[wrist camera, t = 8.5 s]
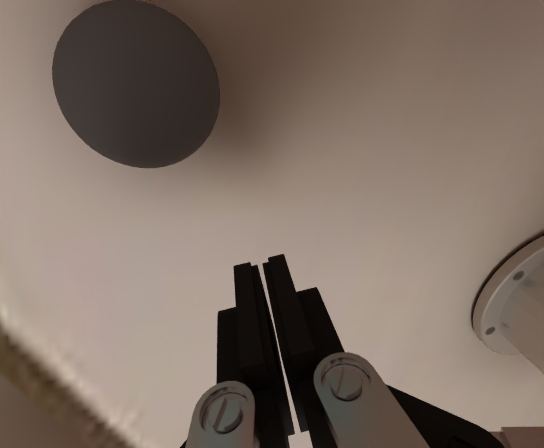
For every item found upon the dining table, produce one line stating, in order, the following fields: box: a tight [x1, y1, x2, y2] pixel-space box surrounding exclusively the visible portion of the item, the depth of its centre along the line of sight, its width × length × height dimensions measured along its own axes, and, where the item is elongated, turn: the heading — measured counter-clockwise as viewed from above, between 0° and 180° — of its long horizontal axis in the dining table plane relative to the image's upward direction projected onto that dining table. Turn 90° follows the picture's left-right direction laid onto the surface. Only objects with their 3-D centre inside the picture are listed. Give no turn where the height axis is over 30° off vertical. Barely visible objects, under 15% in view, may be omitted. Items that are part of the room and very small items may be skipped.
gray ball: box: [52, 0, 220, 168], centre depth 12 cm, size 6×6×6 cm
